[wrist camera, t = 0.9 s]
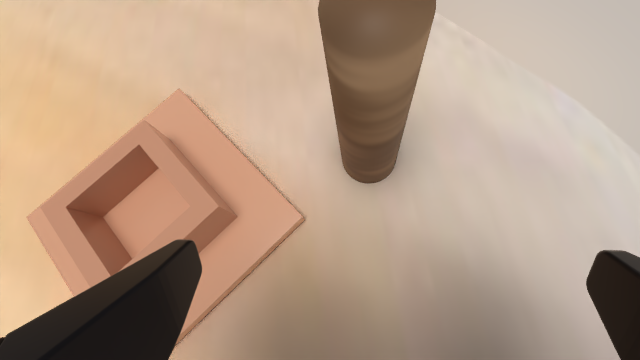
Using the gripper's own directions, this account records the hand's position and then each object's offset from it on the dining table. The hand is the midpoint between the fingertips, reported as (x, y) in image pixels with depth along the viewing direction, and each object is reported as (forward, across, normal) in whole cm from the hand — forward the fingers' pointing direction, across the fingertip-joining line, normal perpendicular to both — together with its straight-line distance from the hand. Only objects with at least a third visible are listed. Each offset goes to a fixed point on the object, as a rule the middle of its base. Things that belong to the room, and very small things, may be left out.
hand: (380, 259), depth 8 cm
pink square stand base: (+12, +14, +7) cm, 20 cm away
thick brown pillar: (+15, 0, +4) cm, 15 cm away
